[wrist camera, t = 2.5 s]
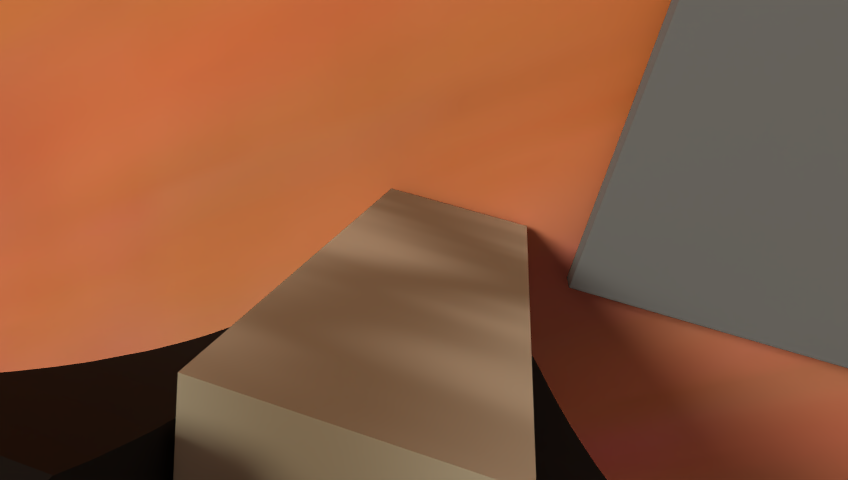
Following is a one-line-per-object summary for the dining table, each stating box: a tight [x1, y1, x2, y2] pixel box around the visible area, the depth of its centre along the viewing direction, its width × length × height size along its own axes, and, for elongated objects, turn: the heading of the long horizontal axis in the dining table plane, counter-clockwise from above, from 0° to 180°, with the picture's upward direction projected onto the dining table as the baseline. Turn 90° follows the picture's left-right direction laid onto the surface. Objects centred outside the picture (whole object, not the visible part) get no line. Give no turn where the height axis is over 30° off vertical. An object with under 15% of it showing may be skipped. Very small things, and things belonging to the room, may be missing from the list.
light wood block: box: [173, 188, 536, 480], centre depth 9 cm, size 4×6×8 cm, turn 167°
